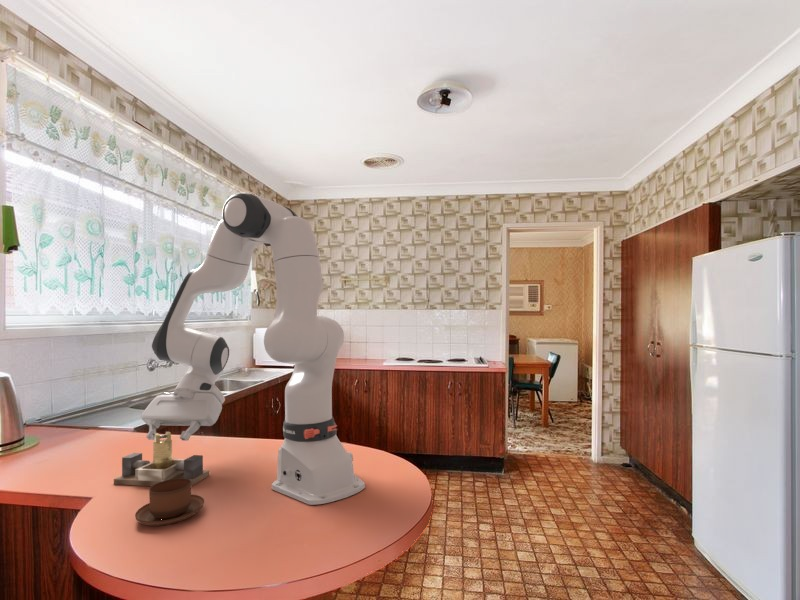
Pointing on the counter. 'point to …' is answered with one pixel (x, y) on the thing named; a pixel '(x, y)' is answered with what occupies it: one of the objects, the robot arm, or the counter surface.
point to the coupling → (162, 451)
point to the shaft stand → (159, 471)
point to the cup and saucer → (169, 503)
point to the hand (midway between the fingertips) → (166, 439)
